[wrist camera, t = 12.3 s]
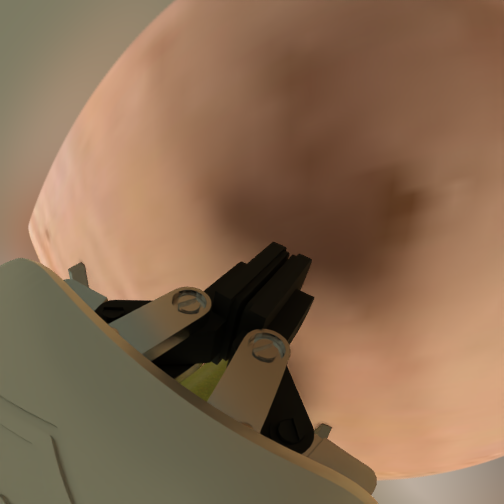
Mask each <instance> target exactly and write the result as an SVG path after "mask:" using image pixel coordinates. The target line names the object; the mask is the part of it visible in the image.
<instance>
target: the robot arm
mask: <svg viewBox="0 0 504 504" xmlns="http://www.w3.org/2000/svg"><path fill="white" fill-rule="evenodd" d="M289 254H290V253H289V252H286V247H284V246H282V245H280V244H278V243H275V242H272V243H271V244H270V245H269V246H268V247H266V248H265V249H264V250H263V251H262V252H261V253H259V254H258V255H257V256H256V257H255V258H253V259H252V260H251V261H250V262H249V263H248V264H246V263H244V262H240V263H238V264H237V265H236V266H234V267H233V268H232V269H231V270H229V271H228V272H227V273H226V274H224V275H223V276H222V277H221V278H219V279H218V280H217V281H216V282H214V283H213V284H212V285H211V286H210V287H208V288H207V289H206V290H205V291H202V290H200V289H198V288H194V287H180V288H177V289H175V290H173V291H171V292H169V293H167V294H165V295H163V296H161V297H159V298H157V299H155V300H154V301H141V300H110V301H108V299H107V297H105V296H103V295H101V294H99V293H97V292H95V291H94V290H92V289H90V288H88V287H86V286H85V285H83V284H81V283H79V282H77V281H75V280H73V279H66V280H62V279H61V278H60V277H59V276H58V275H57V274H56V273H55V272H53V271H52V270H51V269H49V268H48V267H46V266H44V265H43V264H41V263H38V262H36V261H33V260H30V259H25V258H18V259H15V260H12V261H9V262H7V263H5V264H3V265H1V266H0V504H378V503H377V501H376V500H375V499H374V498H373V497H372V496H371V495H372V493H373V492H374V490H375V487H376V485H377V477H376V475H375V473H374V471H373V470H372V469H371V468H370V467H368V466H367V465H365V464H364V463H362V462H361V461H359V460H358V459H356V458H354V457H353V456H351V455H350V454H348V453H347V452H346V451H344V450H343V449H341V448H340V447H338V446H337V445H335V444H334V443H333V442H331V441H330V440H328V439H327V438H326V437H325V438H324V439H322V438H321V437H319V436H318V435H317V434H315V433H314V429H313V426H312V424H311V421H310V419H309V417H308V414H307V412H306V410H305V407H304V405H303V403H302V400H301V398H300V396H299V393H298V391H297V389H296V386H295V384H294V382H293V379H292V377H291V375H290V372H289V370H288V368H287V363H288V360H289V357H290V352H291V350H290V346H289V345H290V343H291V342H292V340H293V338H294V337H295V335H296V333H297V332H298V330H299V328H300V327H301V325H302V323H303V321H304V319H305V317H306V315H307V313H308V311H309V309H310V307H311V305H312V302H313V300H314V297H313V296H311V295H309V294H306V293H304V292H302V291H300V290H301V288H302V285H303V283H304V280H305V278H306V275H307V272H308V270H309V267H310V265H311V262H312V259H310V258H308V257H306V256H304V255H301V254H298V255H297V256H295V255H292V256H291V257H290V258H289ZM288 258H289V259H288ZM222 359H223V360H225V361H227V360H228V363H227V367H226V370H225V372H224V374H223V375H222V377H221V379H220V381H219V382H218V384H217V386H216V387H215V389H214V391H213V392H212V394H211V396H210V397H209V399H208V401H207V402H206V401H204V400H203V399H201V398H200V397H198V396H197V395H196V394H194V393H193V392H191V391H190V390H188V389H187V388H185V387H184V386H183V385H181V384H180V383H181V382H182V381H183V380H185V379H186V378H188V377H189V376H190V375H192V374H193V373H194V372H196V371H197V370H198V369H199V368H200V367H201V366H202V364H203V363H210V362H213V363H214V364H216V365H218V364H219V362H220V361H221V360H222Z"/></svg>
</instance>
